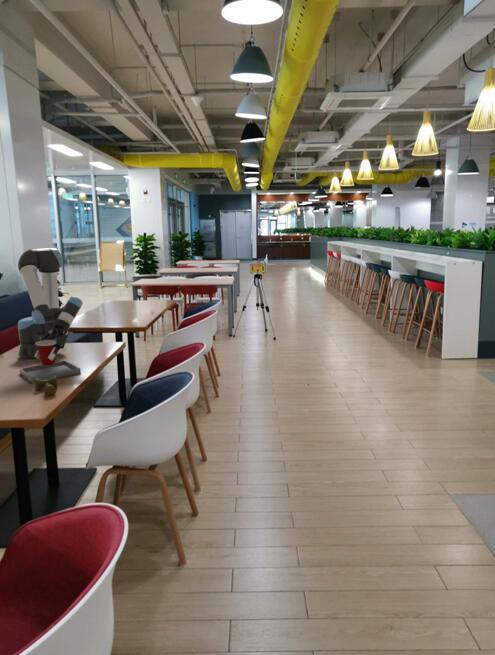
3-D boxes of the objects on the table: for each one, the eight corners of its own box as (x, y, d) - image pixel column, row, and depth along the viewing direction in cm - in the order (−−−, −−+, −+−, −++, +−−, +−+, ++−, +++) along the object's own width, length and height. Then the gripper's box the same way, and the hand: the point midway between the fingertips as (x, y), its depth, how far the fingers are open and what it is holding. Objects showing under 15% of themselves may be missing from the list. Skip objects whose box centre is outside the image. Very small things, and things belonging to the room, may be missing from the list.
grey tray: (20, 374, 263) (19, 368, 263) (66, 365, 277) (65, 360, 277) (32, 383, 244) (31, 378, 244) (80, 373, 258) (80, 368, 258)
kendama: (39, 399, 222) (34, 387, 239) (62, 396, 226) (55, 384, 243) (38, 386, 220) (33, 375, 238) (61, 383, 225) (54, 372, 242)
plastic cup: (52, 367, 253) (49, 344, 251) (33, 367, 256) (30, 344, 253) (64, 361, 264) (61, 339, 262) (46, 361, 266) (43, 339, 264)
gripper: (83, 327, 265) (63, 363, 254) (53, 325, 275) (33, 360, 264) (74, 319, 259) (53, 356, 248) (44, 317, 269) (23, 353, 259)
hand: (43, 358), depth 256 cm, fingers closed on plastic cup, 9 cm apart
